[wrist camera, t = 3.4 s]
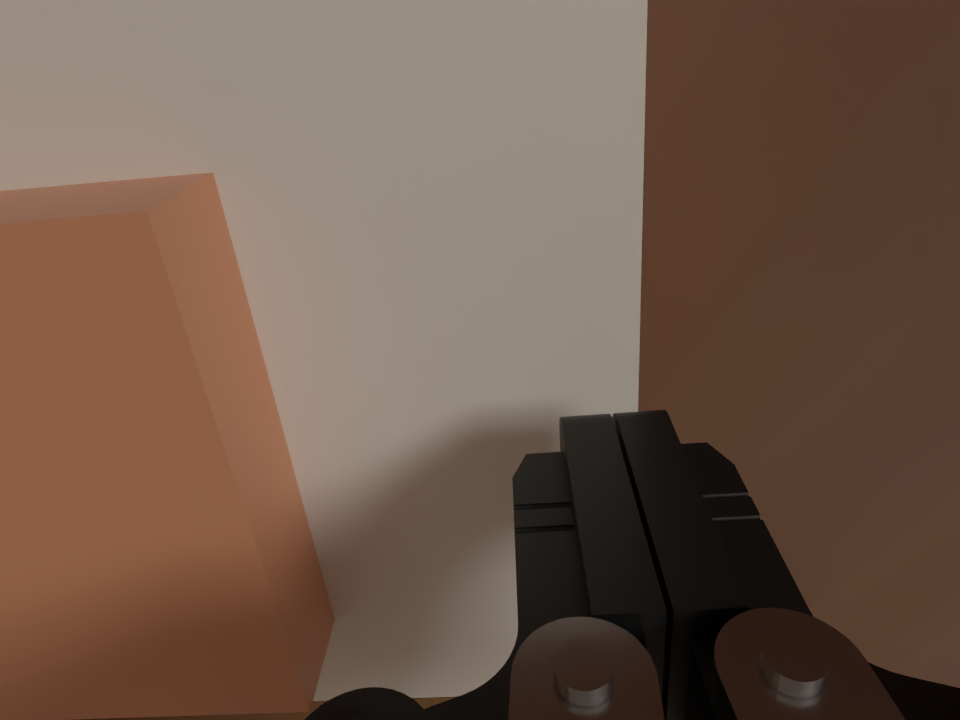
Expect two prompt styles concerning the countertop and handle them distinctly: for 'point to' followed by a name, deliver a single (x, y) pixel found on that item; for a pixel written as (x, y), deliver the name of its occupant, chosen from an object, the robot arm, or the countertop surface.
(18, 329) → the block
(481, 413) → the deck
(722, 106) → the countertop surface
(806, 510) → the countertop surface
